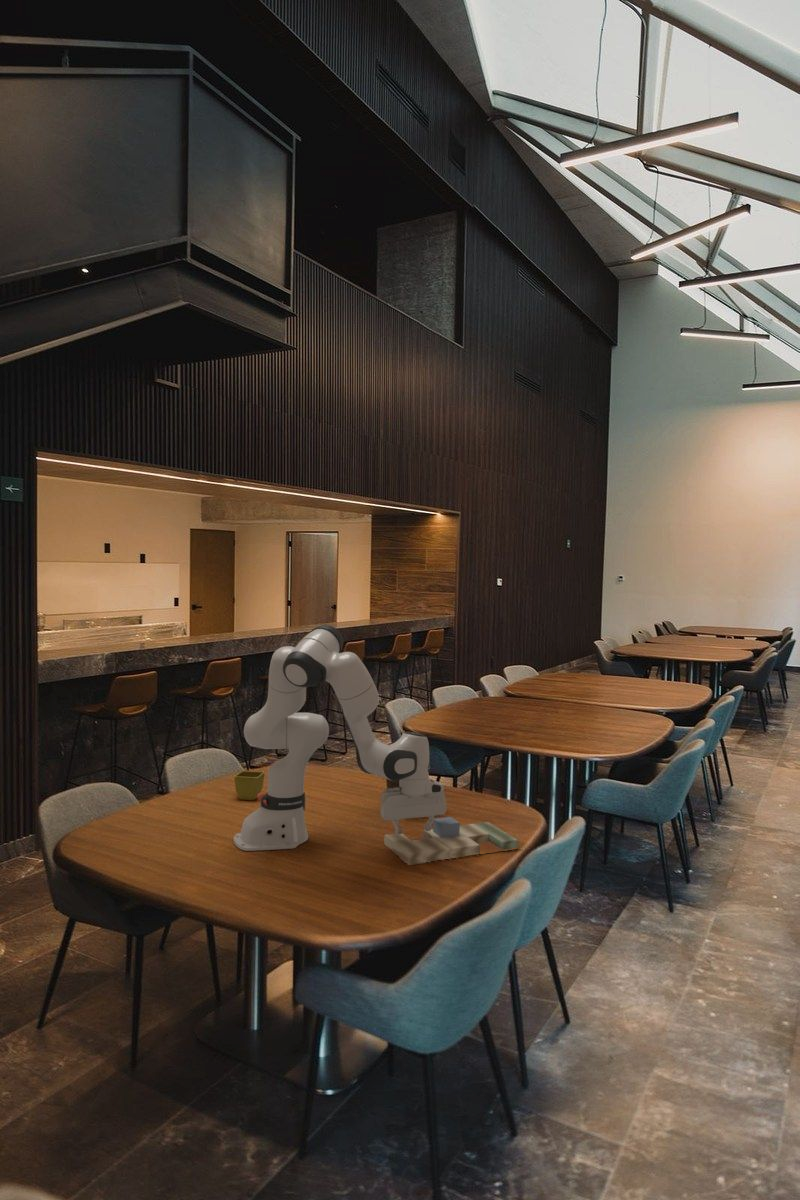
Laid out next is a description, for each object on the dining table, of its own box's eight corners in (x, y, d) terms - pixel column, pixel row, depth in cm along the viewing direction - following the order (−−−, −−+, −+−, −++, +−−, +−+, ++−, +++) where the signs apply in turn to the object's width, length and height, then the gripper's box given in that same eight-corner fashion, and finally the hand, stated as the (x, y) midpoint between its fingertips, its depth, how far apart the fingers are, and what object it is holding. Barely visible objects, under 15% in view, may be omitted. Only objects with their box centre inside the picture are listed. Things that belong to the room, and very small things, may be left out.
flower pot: (241, 794, 281) (242, 770, 281) (264, 795, 280) (265, 771, 280) (233, 801, 273) (233, 776, 272) (256, 802, 272) (257, 777, 271)
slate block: (441, 838, 230) (442, 824, 230) (433, 831, 235) (433, 818, 235) (459, 835, 232) (459, 822, 232) (450, 829, 238) (450, 816, 237)
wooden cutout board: (408, 865, 215) (408, 854, 215) (384, 844, 232) (384, 834, 232) (517, 849, 230) (517, 839, 229) (487, 831, 246) (487, 821, 246)
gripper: (385, 791, 221) (384, 838, 221) (448, 785, 229) (448, 831, 229) (377, 786, 227) (376, 832, 227) (440, 780, 235) (439, 825, 235)
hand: (413, 831), depth 228 cm, fingers open, 8 cm apart
